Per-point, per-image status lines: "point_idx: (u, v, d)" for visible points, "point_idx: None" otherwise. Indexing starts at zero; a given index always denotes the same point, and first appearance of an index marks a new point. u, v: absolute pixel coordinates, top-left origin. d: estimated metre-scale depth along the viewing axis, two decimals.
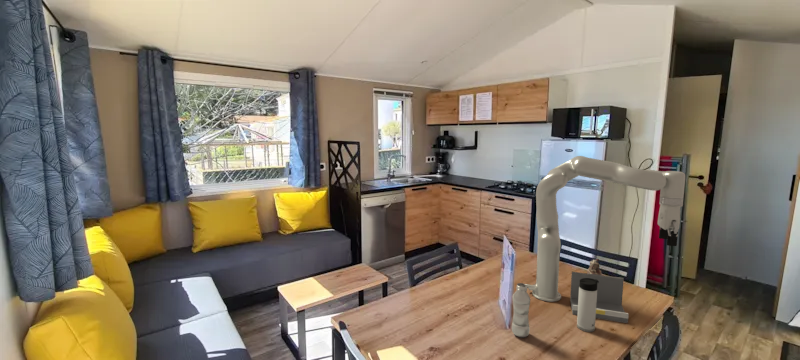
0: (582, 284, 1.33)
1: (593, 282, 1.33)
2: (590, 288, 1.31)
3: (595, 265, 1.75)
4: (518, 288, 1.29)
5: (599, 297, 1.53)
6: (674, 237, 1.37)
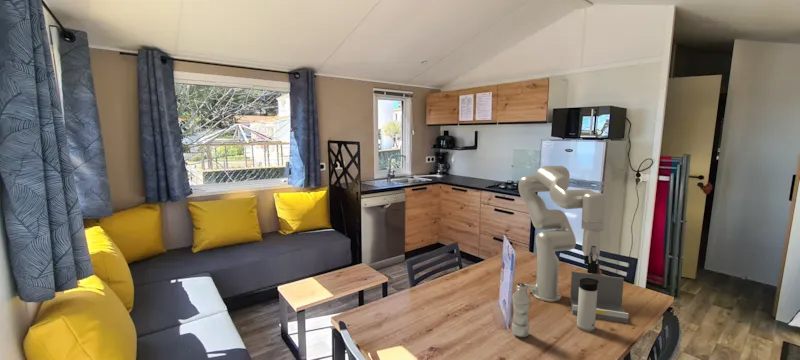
0: (582, 284, 1.33)
1: (593, 282, 1.33)
2: (590, 288, 1.31)
3: None
4: (518, 288, 1.29)
5: (599, 297, 1.53)
6: (594, 264, 1.27)
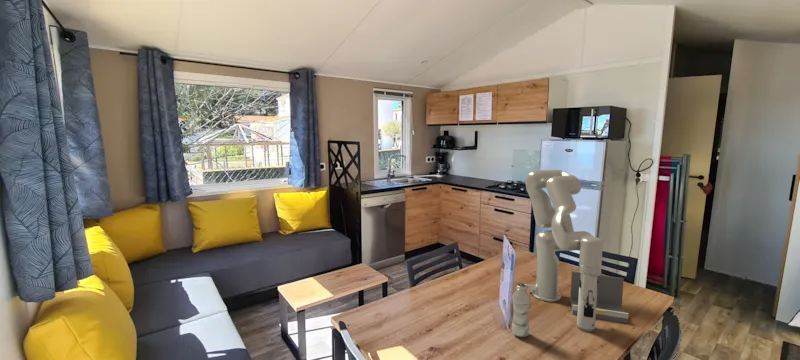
0: None
1: None
2: None
3: None
4: (518, 288, 1.29)
5: (599, 297, 1.53)
6: (590, 309, 1.31)
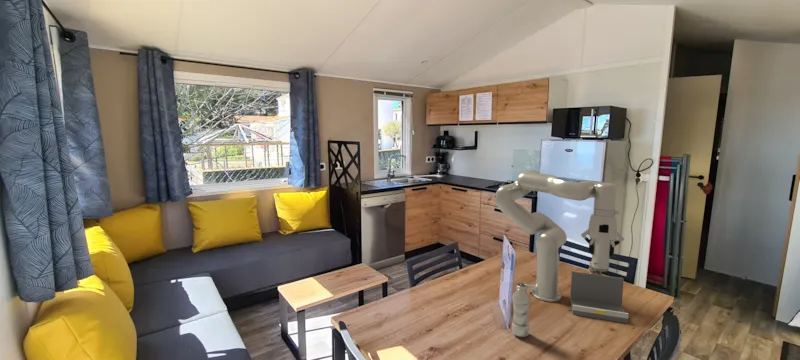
0: None
1: None
2: None
3: None
4: (518, 288, 1.29)
5: (599, 297, 1.53)
6: (589, 245, 1.46)
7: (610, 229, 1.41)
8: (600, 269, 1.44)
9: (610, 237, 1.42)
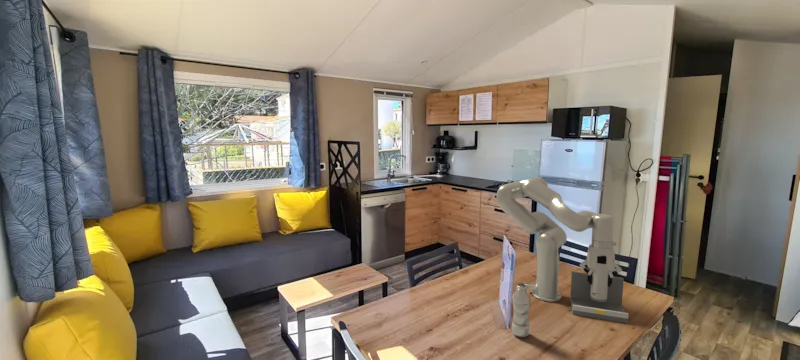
0: None
1: None
2: None
3: None
4: (518, 288, 1.29)
5: None
6: None
7: (608, 260, 1.43)
8: (598, 299, 1.45)
9: (608, 268, 1.43)
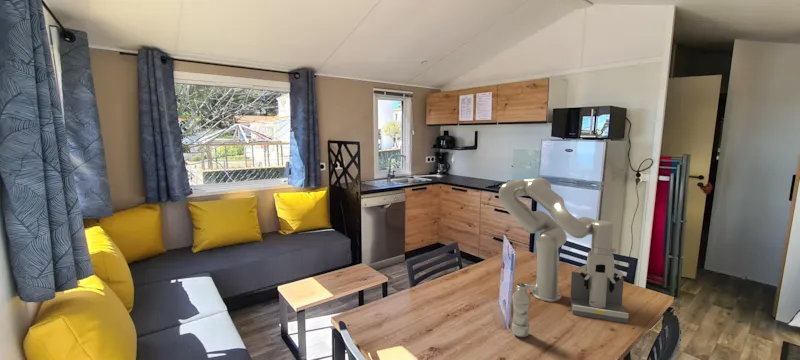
0: None
1: None
2: None
3: None
4: (518, 288, 1.29)
5: None
6: (584, 279, 1.49)
7: (607, 267, 1.43)
8: None
9: (607, 274, 1.44)
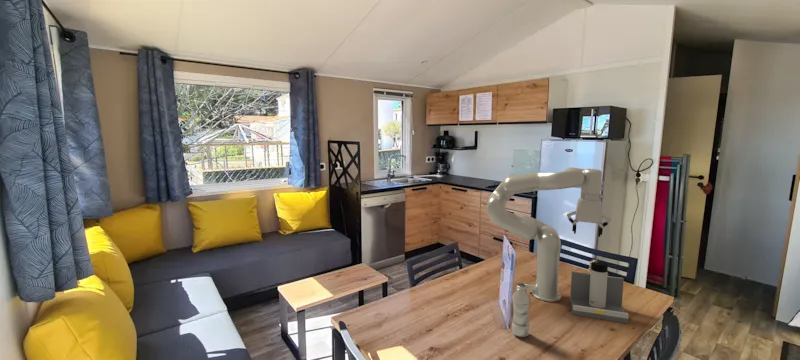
0: None
1: None
2: (591, 266, 1.47)
3: None
4: (518, 288, 1.29)
5: None
6: None
7: (595, 212, 1.50)
8: None
9: (594, 220, 1.51)
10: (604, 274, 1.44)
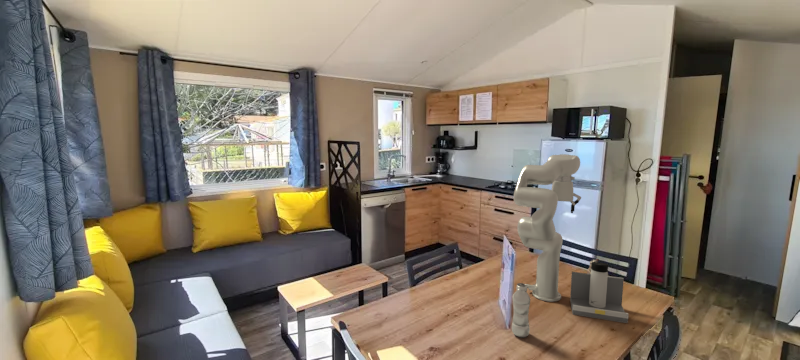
0: None
1: None
2: (591, 266, 1.47)
3: None
4: (518, 288, 1.29)
5: None
6: None
7: (567, 192, 1.73)
8: None
9: (567, 198, 1.73)
10: (604, 274, 1.44)
